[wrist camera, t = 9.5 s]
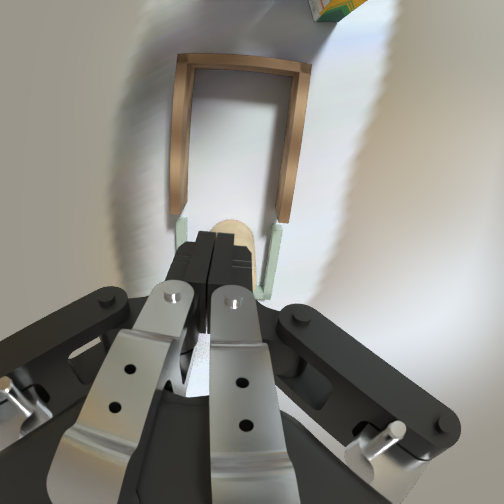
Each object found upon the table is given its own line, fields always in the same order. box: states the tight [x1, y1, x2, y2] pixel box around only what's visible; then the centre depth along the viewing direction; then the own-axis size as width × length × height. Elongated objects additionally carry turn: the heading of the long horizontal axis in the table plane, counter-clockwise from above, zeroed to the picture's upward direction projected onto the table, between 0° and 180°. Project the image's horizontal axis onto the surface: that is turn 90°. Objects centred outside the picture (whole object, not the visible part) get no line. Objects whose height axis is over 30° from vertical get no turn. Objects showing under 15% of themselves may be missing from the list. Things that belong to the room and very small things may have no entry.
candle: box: [210, 220, 257, 292], centre depth 29 cm, size 6×6×10 cm
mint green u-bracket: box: [176, 217, 283, 300], centre depth 34 cm, size 10×12×2 cm
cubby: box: [170, 53, 312, 223], centre depth 25 cm, size 16×12×4 cm
